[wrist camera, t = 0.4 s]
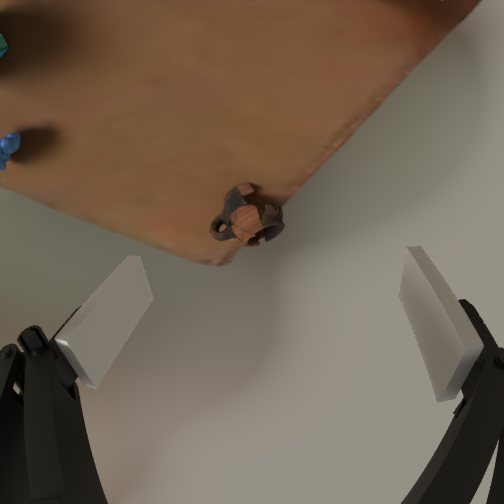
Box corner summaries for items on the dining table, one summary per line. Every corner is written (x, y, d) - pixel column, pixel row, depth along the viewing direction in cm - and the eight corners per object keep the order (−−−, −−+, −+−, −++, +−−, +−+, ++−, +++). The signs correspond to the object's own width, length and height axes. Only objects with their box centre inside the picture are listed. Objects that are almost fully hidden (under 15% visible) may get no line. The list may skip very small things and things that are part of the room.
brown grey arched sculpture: (263, 169, 45) (288, 212, 42) (270, 196, 54) (290, 234, 51) (194, 203, 45) (212, 248, 43) (211, 225, 54) (228, 264, 52)
